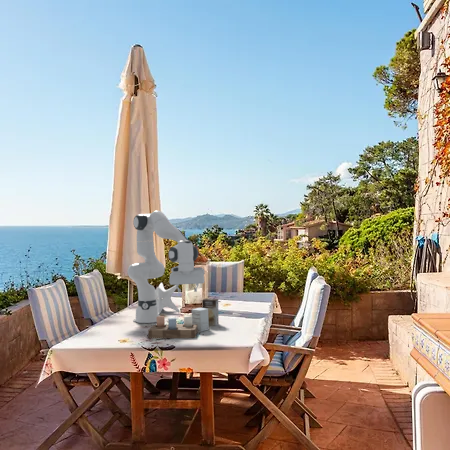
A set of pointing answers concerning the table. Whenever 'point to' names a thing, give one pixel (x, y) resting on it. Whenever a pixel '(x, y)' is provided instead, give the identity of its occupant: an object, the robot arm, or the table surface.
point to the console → (173, 332)
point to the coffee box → (211, 311)
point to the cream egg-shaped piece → (187, 321)
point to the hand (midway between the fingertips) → (187, 291)
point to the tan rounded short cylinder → (160, 321)
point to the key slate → (172, 324)
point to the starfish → (164, 298)
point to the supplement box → (200, 318)
